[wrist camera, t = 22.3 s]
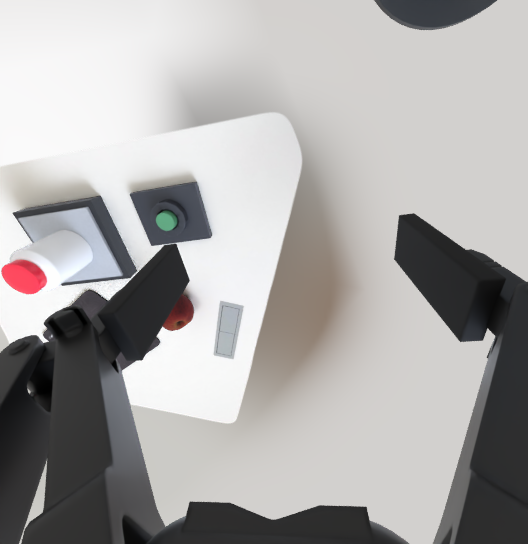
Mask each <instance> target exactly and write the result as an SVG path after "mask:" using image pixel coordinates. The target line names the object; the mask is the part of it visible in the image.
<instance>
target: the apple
mask: <svg viewBox="0 0 528 544" xmlns="http://www.w3.org/2000/svg"><path fill="white" fill-rule="evenodd" d="M193 315H194V309H193V305H192V303H191V301H190V300H189V299H188V298H187V297H186V296H185V295H183V294H181V296H180V298H179V299H178V301H177V303H176V304H175V306H174V308H173V309H172V311H171V313H170V314H169V316H168V318H167V319H166V321H165V323H164V324H163V327H164V328H165V329H167V330H170V331H174V330H178V329H181V328H182V327H184V326H185V325H187V324H188V323H189V322H190V321H191V320H192V318H193Z"/></svg>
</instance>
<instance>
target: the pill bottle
mask: <svg viewBox="0 0 528 544" xmlns="http://www.w3.org/2000/svg"><path fill="white" fill-rule="evenodd" d="M92 259H93V253H92V250H91V247H90V246H89V244H88V243H87V241H86V240H85V239H84V238H82V237H81V236H80V235H78V234H76V233H74V232H72V231H68V230H59V231H56V232H54V233H52V234H50V235H48V236H46V237H44V238H42V239H40V240H37V241H35V242H33V243H31V244H29V245H27V246H25V247H23V248H21V249H19V250H16V251H15V252H13V253H12V254H11V256H10V263H9V264H7V265H5V266H4V267H3V268H2V271H1V272H2V276H3V278H4V280H5V281H6V282H7V283H8V284H9V285H10V286H11V287H12V288H14V289H15V290H17V291H19V292H22V293H25V294H34V293H36V292H38V291H39V290H45V291H48V290H53V289H55V288H57V287H58V286H59V285H61V284H62V283H64V282H65V281H66V280H68V279H69V278H70V277H72V276H73V275H75V274H76V273H77V272H79V271H80V270H82V269H83V268H84V267H86V266H87V265H88V264H90V263H91V261H92Z"/></svg>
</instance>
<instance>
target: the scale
mask: <svg viewBox="0 0 528 544" xmlns="http://www.w3.org/2000/svg"><path fill="white" fill-rule="evenodd" d="M13 215H14V216H15V218H16V219H17V220H18V222H19V223H20V225H21V226H22V228H23V229H24V231H25V232H26V234H27V235H28V237H29V238H30V240H31V241H32V242H35V241H37V240H40V239H42V238H44V237H46V236H48V235H50V234H52V233H54V232H56V231H59V230H68V231H72V232H74V233H76V234H78V235H80V236H81V237H82V238H84V239H85V240H86V241H87V243H88V244H89V246H90V247H91V250H92V253H93V259H92V261H91V263H90V264H88V265H87V266H86V267H84V268H83V269H82V270H80V271H79V272H77V273H76V274H75V275H73V276H72V277H70V278H69V279H68V280H66V281H65V282H64V283H62V284H61V285H62V286H64V285H73V284H81V283H90V282H99V281H108V280H116V279H125V278H131V276H132V275H133V274H134V273H135V272H136V271H137V270H136V268H135V266H134V264H133V262H132V260H131V258H130V256H129V254H128V252H127V250H126V248H125V246H124V243H123V241H122V239H121V237H120V235H119V233H118V231H117V229H116V227H115V225H114V223H113V221H112V219H111V217H110V215H109V213H108V210H107V208H106V206H105V204H104V202H103V200H102V198H101V196H98V197H92V198H86V199H80V200H74V201H68V202H62V203H56V204H50V205H44V206H38V207H32V208H26V209H23V210H20V211H17V212H14V213H13Z"/></svg>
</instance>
